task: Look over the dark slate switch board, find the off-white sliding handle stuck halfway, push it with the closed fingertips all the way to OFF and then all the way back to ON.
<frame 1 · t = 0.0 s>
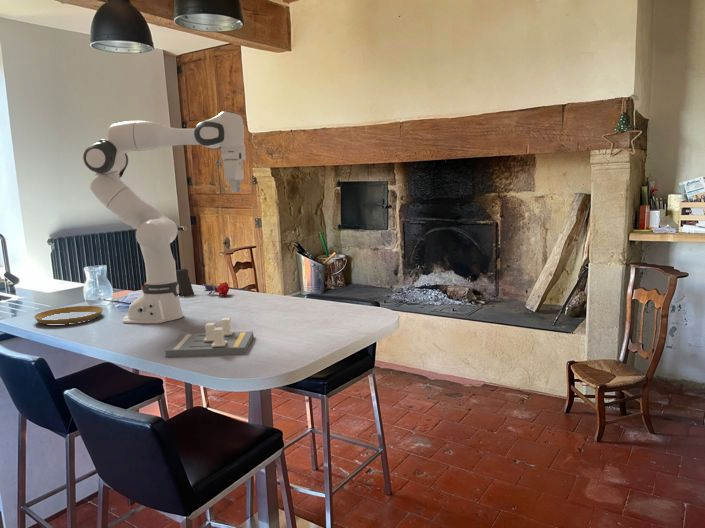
hand: (236, 192, 207), 48 cm above the kitchen island, tool pointing down, fingers open, 8 cm apart
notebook: (130, 299, 251), on the kitchen island
switch far: (226, 326, 179), point 5 cm above the kitchen island, slide at 7.8 cm
switch mid: (210, 331, 173), point 5 cm above the kitchen island, slide at 4.0 cm
plant saucer: (70, 320, 214), on the kitchen island
switch board: (211, 346, 173), on the kitchen island
figurine: (216, 296, 253), on the kitchen island
switch near: (218, 336, 167), point 5 cm above the kitchen island, slide at 7.8 cm
phone stand: (182, 294, 257), on the kitchen island
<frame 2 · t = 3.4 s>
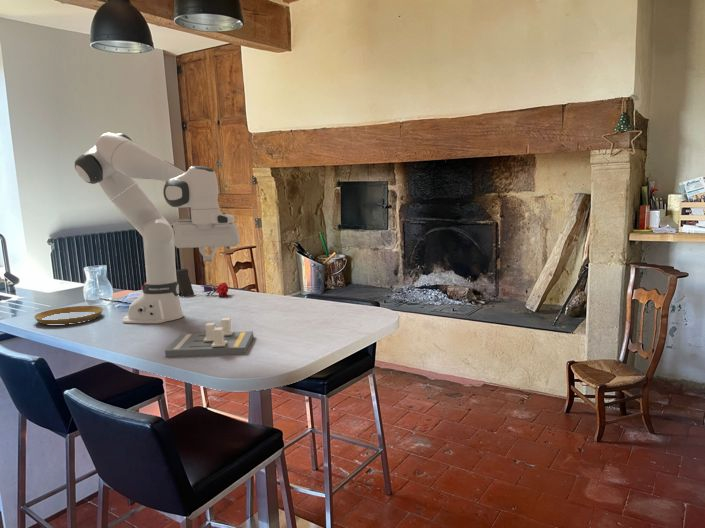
hand: (208, 261, 173), 27 cm above the kitchen island, tool pointing down, fingers closed
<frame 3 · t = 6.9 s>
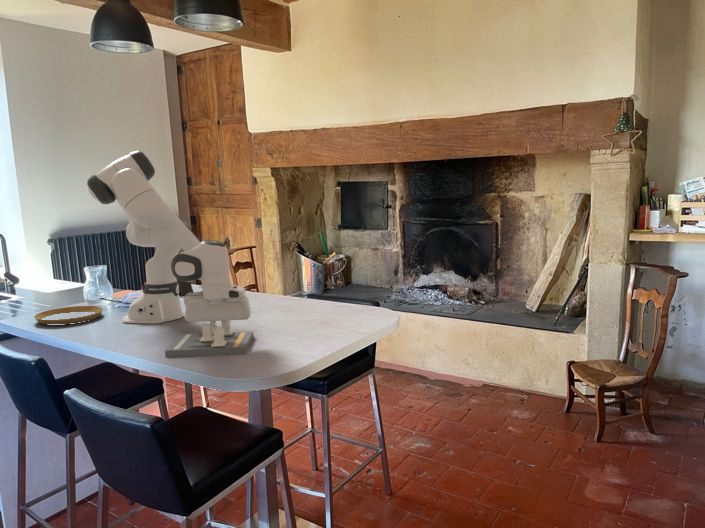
hand: (219, 333, 173), 4 cm above the kitchen island, tool pointing down, fingers closed
switch mid: (207, 331, 172), point 5 cm above the kitchen island, slide at 3.0 cm, touching gripper
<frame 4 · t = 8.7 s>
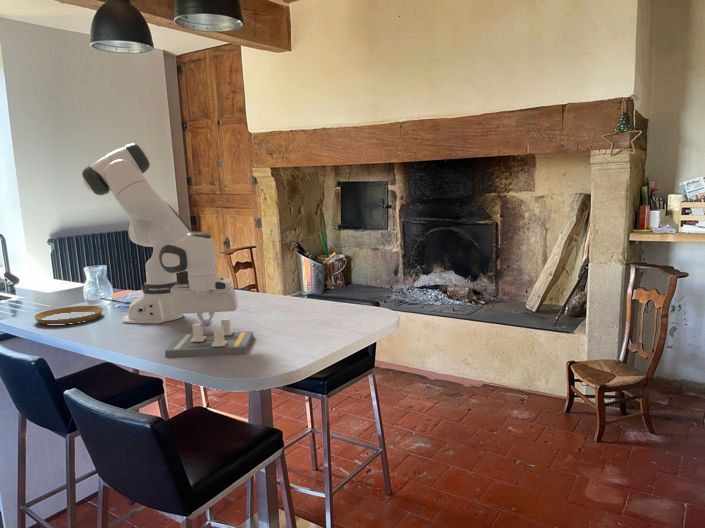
hand: (206, 325, 173), 7 cm above the kitchen island, tool pointing down, fingers closed
switch mid: (197, 332, 172), point 5 cm above the kitchen island, slide at -0.1 cm
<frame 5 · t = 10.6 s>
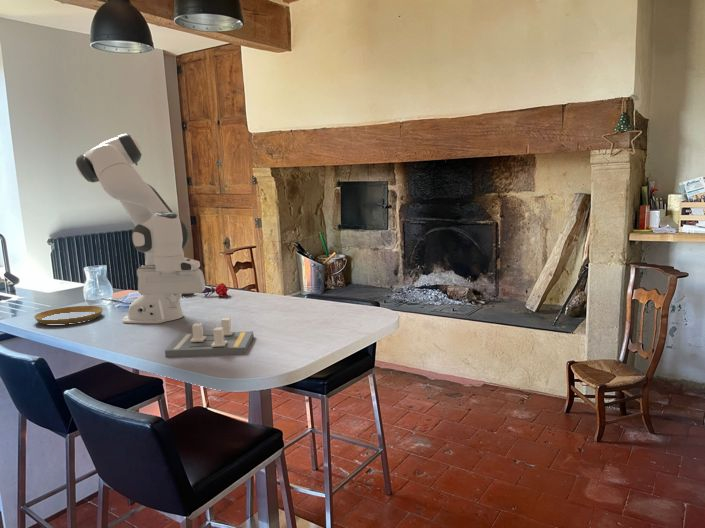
hand: (173, 307, 170), 13 cm above the kitchen island, tool pointing down, fingers closed
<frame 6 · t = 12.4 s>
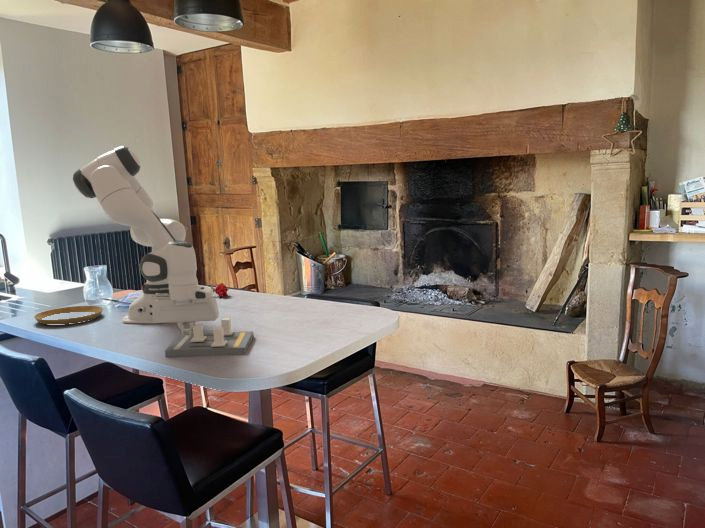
hand: (187, 334, 172), 4 cm above the kitchen island, tool pointing down, fingers closed
switch mid: (198, 332, 172), point 5 cm above the kitchen island, slide at 0.1 cm, touching gripper
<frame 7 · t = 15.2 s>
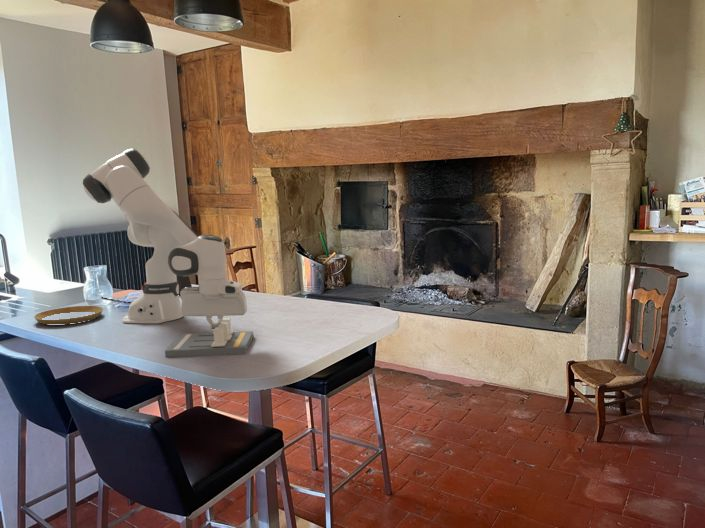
hand: (215, 328, 173), 6 cm above the kitchen island, tool pointing down, fingers closed
switch mid: (224, 331, 173), point 5 cm above the kitchen island, slide at 8.2 cm, touching gripper
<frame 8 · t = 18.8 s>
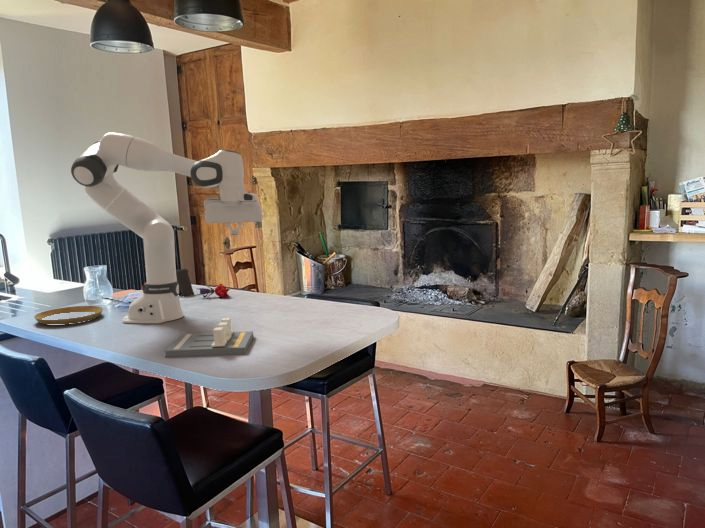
hand: (235, 235, 194), 33 cm above the kitchen island, tool pointing down, fingers closed
switch mid: (223, 331, 173), point 5 cm above the kitchen island, slide at 8.1 cm
at the end: switch mid slide at 8.1 cm; switch near slide at 7.8 cm; switch far slide at 7.8 cm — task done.
